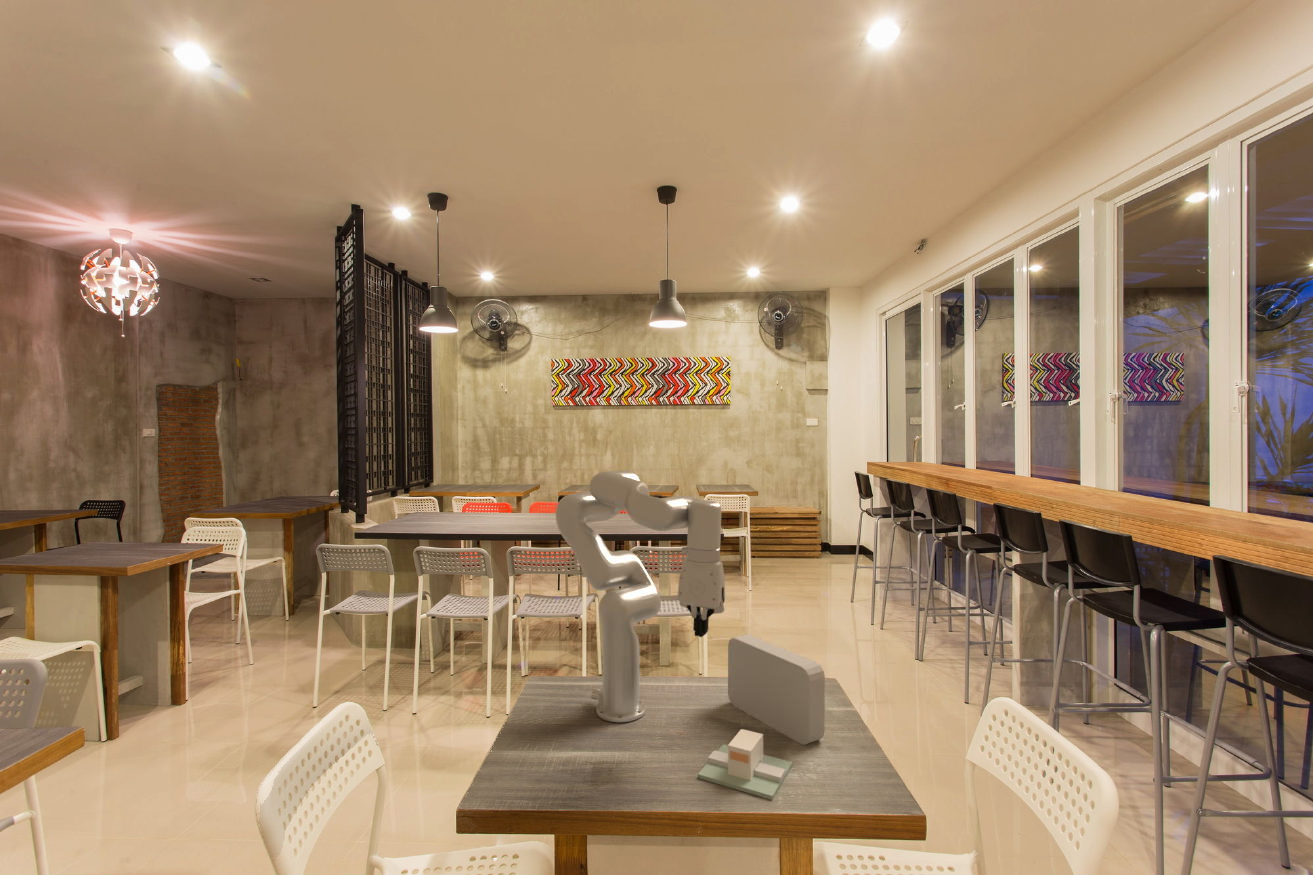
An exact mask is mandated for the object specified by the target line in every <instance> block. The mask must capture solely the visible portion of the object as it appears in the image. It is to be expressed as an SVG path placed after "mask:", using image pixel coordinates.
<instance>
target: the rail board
mask: <svg viewBox="0 0 1313 875" xmlns="http://www.w3.org/2000/svg"><path fill="white" fill-rule="evenodd" d="M728 745H729V744H724V743H723V744H722V745H721V746H720V747H719V749H718V750H713V751H712V752H711V753H710V755H709V756H708V757H707V763H706V764H705V765H704V767H702V769H701V770H700V771H699V772H698V773H697V778H698V779H700V780H703V781H707V782H710V783H715V784H716V785H717V784H718V785H720V786H724V787H726V788H731V789H735V790H737V791H742V792H745V793H747V794H751V795H754V796H758V797H762V798H765V799H766V800H767V799H769V800H771V801H773V800H774V798H775V797H776V795H777V793H778V791H779V790H780V789H781V786H782V784H783V783H784V781H785V779H786V778H787V776H788V774H789V772H790V770H791V769H792V767H793V761H790V760H786V759H782V758H778V757H773V756H769V755H766V754H763V763H760V762H759V763H758V764H757V766H756V767H755V769H754V777H753V778H752V780H751V781H750V780H747V779H743V778H740V777H736V776H733V775H729V774H728Z"/></svg>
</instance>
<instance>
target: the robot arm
mask: <svg viewBox="0 0 1313 875" xmlns="http://www.w3.org/2000/svg"><path fill="white" fill-rule="evenodd" d="M588 486H589V487H588V489H589V491H582V492H576V493H570V494H568V495H565V496H564V497H562V498H561V499H560V500H559V502H558V503H557V505H556V509H555V521H556V522H555V523H556V525H557V529H558V531H559V532H560V535H561V537H562V538H563V539H564V541H565V542H566V543H567V545H568V546H569V548H570V549H571V551H572V552H573V554H574V555H575V558H576V560H577V562H578V564H579V566H580V568H581V570H582V572H583V574H584V576H585V578H586V579H587V581H588V583H589V585H591V587H592V588H593V589H595V590H596V591H607V590H610V591H609V592H607V593H605V594H604V595H603V596H602V597H601V598H600V601H599V604H598V615H599V621H600V626H601V633H602V634H601V635H602V641H601V642H602V689H601V688H598V687H593V688H592V690H591V695H590V698H591V700H597V702H598V704H597V706H596V708H595V710H596V711H595V712H596V715H597V716H598V717H599V718H601V719H602V720H603V721H607V722H611V723H612V722H613V723H628V722H633V721H636V720H638V719H640V718H641V717H643V716H644V715H645V713H646V705H645V703H644V702H643V701H641V699H640V640H639V636H638V634H637V633H636V631H635V629H634V625H635V624H637V623H639V622H643V621H646V620H649V619H653V618H654V617H655V616H656V615H658V613H659V612H660V609H661V605H662V604H661V602H662V601H661V596H660V593H659V591H658V589H657V587H656V585H655V584H654V582H653V580H652V578H651V576H650V575H649V573H648V571H647V570H646V568H645V566H644V564H643V562H642V561H641V560H640V558H639V557H638V556H637V555H636V554H635V553H634V552H633V551H631V550H626V549H625V550H624V549H623V550H615V551H611V550H609V549H608V548H609V547H607V545H606V544H605V542H604V539H603V538H602V537H601V535H600V534H599V533H598V532H597V531H596V530H594V529H593V528H592V527H590V526H589V525H588V524H587V523H595V522H604V521H607V520H608V521H609V520H611V519H613V518H614V517H616V516H617V515H619V514H620V513H621V512H622V511H623V512H626V513H627V514H628V516H629V517H630V519H631V520H632V521H633V522H634V523H636V524H638V525H640V526H643V527H644V528H647V529H650V530H652V531H653V530H654V531H657V532H667V531H673V530H678V529H687V540H686V541H687V542H686V544H687V545H686V546H683V547H682V548H681V553H682V554H685V558H684V559H683V560H682V563H681V568H680V572H679V579H678V587H677V600H678V601H679V606H681V607H682V608H685V609H687V610H688V611H689V613H690V614H691V618H693V628H692V629H693V631H694V636H695V637H699V638H702V637H704V636H705V635H706V634H707V633H708V631H709V618H710V617H711V616H712V615H713V614H715V615H716V614H722V613H724V612H725V606H724V603H725V599H726V582H725V580H726V579H725V573H724V572H725V570H724V565H723V562H722V561H720V560H721V536H722V534H721V533H722V532H721V531H722V506H721V504H720V502H718V501H714V500H708V499H707V500H706V499H699V498H697V497H694V496H691V495H682V496H681V495H680V496H679V495H678V496H671V497H670V496H669V497H661V498H660V497H655V496H652V495H650V490H649V487H648V485H647V484H646V483H645V482H644V481H641V480H640V477H639V476H638V475H637V474H636V473H635V472H633V471H632V470H626V469H625V470H624V469H623V470H605V471H601V472H598V473H597V474H595V475H594V476H593V477H592V478H591V479H590V482H589V485H588ZM619 587H620V588H619ZM616 588H617V589H616ZM611 589H612V590H611Z"/></svg>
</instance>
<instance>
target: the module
mask: <svg viewBox="0 0 1313 875" xmlns="http://www.w3.org/2000/svg"><path fill="white" fill-rule="evenodd" d="M727 745H728V774H729V775H733V776H736V777H740V778H743V779H747V780H750V781H751V780H752V778H753V777H754V769H755V767H756V766H757V764H758V763H759V762H760V763H763V755H764V734H763V733H760V732H755V731H751V730H748V729H743V728H741V729H740V730H739V731H738V732H737V734H736V735H735V736H734V737H733V738H732V740H731V741H730V742H729V744H727Z"/></svg>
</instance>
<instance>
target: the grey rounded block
mask: <svg viewBox="0 0 1313 875" xmlns="http://www.w3.org/2000/svg"><path fill="white" fill-rule="evenodd" d="M825 679H826V677H825V670H824V669H823V667H822V665H820V664H819V663H818V662H816V661H815V660H812V659H810V658H808V657H807V658H806V657H805V656H802V655H800V654H798V653H795V652H794V651H793V652H792V651H790V650H787V649H786V648H782V647H780V646H777V645H776V644H773V643H770V642H767V641H766V640H763V639H760V638H758V637H755V636H753V635H750V634H743V635H740V636H739V635H738V636H736V637H732V638H730V639H729V640H728V645H727V696H728V699H729V701H730V704H731V705H733V707H735V708H737V709H738V710H740V711H742V712H744V713H745V714H747V715H748V716H750V717H753V718H754V719H755V720H757V721H759V722H761V723H763V724H765V725H766V726H768V727H770V728H772V729H773V730H775V731H777V732H779V733H781V734H783V735H785V736H786V737H788V738H790V739H791V740H792V741H795V742H797V743H798V744H800V745H804V746H805V745H808V744H811V743H813V742H815V741H818V740H821V739H822V738H824V735H825V725H826V724H825V723H826V722H825V721H826V720H825V718H826V717H825V716H826V714H825V710H826V709H825V707H826V706H825V704H826V703H825V702H826V698H825V697H826V696H825V695H826V693H825V692H826V689H825V688H826V687H825V686H826V680H825Z"/></svg>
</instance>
